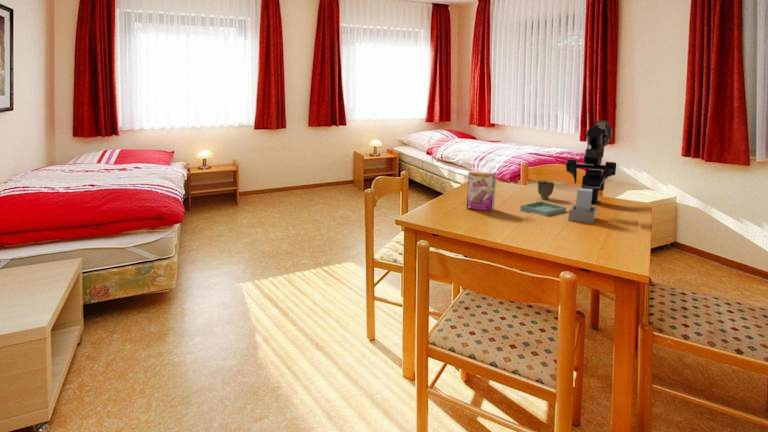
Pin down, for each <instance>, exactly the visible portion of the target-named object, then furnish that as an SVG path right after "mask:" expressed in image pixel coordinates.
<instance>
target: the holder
mask: <svg viewBox="0 0 768 432" xmlns="http://www.w3.org/2000/svg"><path fill="white" fill-rule="evenodd" d="M570 206H571V207H570V208H569V211H568V219H567V220H568V222H575V223H584V224H594V222H595V219H596V214H597V207H596V206H591V208H590V211H581V210H575V209H576V204H572V205H570Z"/></svg>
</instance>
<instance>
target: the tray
mask: <svg viewBox="0 0 768 432" xmlns="http://www.w3.org/2000/svg"><path fill="white" fill-rule="evenodd" d="M520 211H521V212H525V213H528V214H531V213H533V214H537V215H540V216H545V217H549V216H551V215H556V214H561V213H565V212H567V206H562V205H558V204H555V203H550V202H546V201H541V200H539V201H535V202H531V203H530V202H529V203H525V204H521V205H520Z"/></svg>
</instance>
